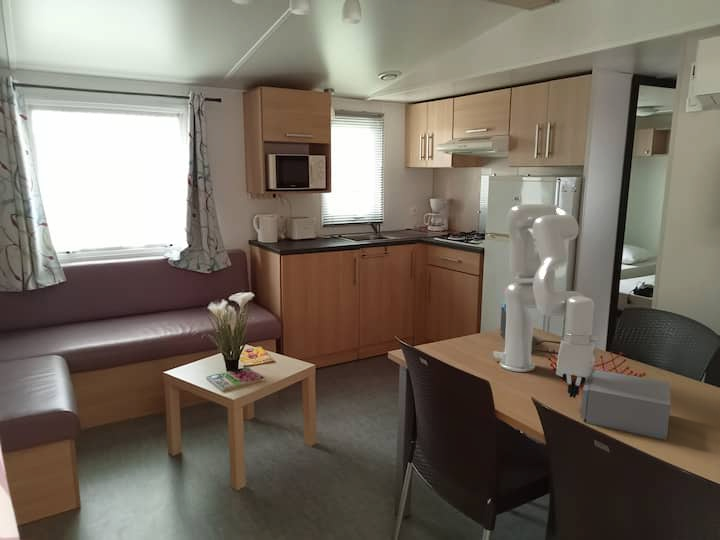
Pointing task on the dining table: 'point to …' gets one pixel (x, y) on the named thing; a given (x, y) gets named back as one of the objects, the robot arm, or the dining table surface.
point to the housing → (629, 404)
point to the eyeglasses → (546, 351)
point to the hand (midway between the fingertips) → (572, 395)
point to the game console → (503, 321)
